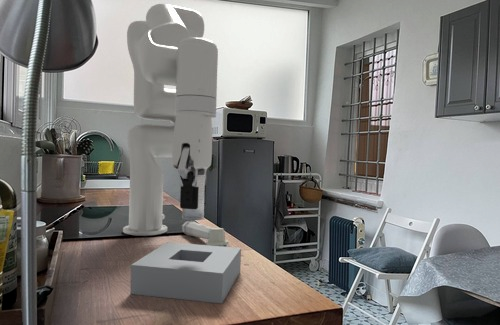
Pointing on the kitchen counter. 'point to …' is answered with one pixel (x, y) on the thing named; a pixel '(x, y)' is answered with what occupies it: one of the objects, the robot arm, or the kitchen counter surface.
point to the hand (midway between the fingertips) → (193, 205)
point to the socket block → (187, 272)
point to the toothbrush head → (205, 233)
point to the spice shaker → (199, 212)
